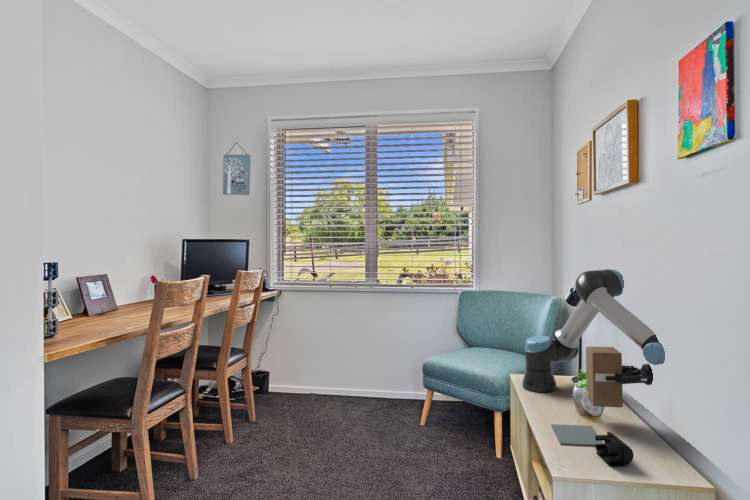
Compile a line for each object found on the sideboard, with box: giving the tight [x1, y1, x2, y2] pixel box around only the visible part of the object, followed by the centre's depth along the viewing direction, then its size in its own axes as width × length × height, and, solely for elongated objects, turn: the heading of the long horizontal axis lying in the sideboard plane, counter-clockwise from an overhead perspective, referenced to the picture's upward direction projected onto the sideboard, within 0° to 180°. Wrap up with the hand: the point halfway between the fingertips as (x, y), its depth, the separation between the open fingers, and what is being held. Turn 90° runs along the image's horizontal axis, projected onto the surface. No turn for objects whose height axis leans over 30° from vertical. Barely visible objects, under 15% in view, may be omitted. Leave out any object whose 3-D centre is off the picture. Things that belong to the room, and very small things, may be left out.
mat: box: [550, 423, 605, 447], centre depth 159 cm, size 16×14×1 cm
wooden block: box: [585, 346, 624, 408], centre depth 169 cm, size 10×10×20 cm
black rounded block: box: [595, 431, 635, 468], centre depth 140 cm, size 10×7×7 cm
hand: (591, 372), depth 170 cm, fingers closed on wooden block, 10 cm apart
